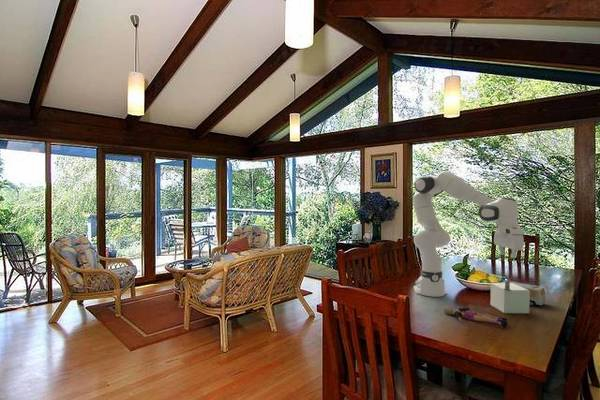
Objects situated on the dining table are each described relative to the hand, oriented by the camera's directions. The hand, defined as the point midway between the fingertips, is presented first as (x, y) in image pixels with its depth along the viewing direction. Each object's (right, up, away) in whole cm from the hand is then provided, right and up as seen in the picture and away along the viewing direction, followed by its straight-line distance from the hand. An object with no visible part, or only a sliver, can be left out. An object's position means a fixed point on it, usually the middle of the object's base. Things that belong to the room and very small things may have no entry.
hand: (507, 256), depth 177 cm
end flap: (+5, -29, +1) cm, 30 cm away
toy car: (+19, -29, +22) cm, 41 cm away
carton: (+5, -29, +8) cm, 31 cm away
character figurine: (-21, -30, -8) cm, 38 cm away
